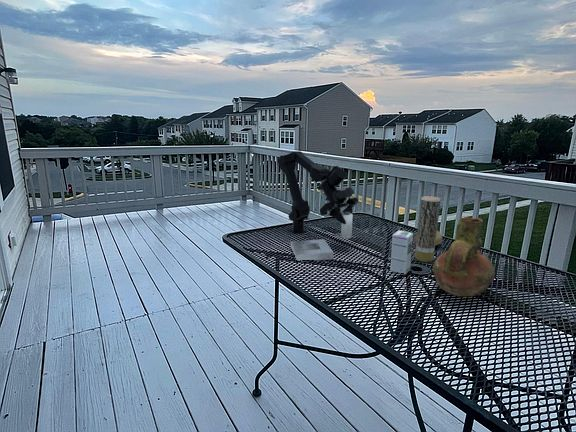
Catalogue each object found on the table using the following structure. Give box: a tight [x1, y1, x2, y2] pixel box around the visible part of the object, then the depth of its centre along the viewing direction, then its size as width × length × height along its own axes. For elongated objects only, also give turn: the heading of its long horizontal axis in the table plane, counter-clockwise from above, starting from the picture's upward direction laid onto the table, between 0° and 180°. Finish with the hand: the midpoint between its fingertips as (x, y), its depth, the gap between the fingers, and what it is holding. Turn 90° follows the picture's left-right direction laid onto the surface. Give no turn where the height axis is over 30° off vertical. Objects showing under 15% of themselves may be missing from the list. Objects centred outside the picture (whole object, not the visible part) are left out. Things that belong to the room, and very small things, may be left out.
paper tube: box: [414, 195, 442, 263], centre depth 125 cm, size 7×7×25 cm
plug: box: [340, 211, 354, 240], centre depth 136 cm, size 4×4×11 cm
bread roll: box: [414, 230, 443, 246], centre depth 141 cm, size 10×15×8 cm, turn 132°
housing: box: [290, 238, 334, 262], centre depth 136 cm, size 15×15×3 cm
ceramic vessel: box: [432, 216, 496, 297], centre depth 102 cm, size 17×26×25 cm, turn 141°
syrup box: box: [389, 229, 414, 275], centre depth 118 cm, size 6×6×14 cm
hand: (349, 222), depth 135 cm, fingers closed on plug, 4 cm apart
